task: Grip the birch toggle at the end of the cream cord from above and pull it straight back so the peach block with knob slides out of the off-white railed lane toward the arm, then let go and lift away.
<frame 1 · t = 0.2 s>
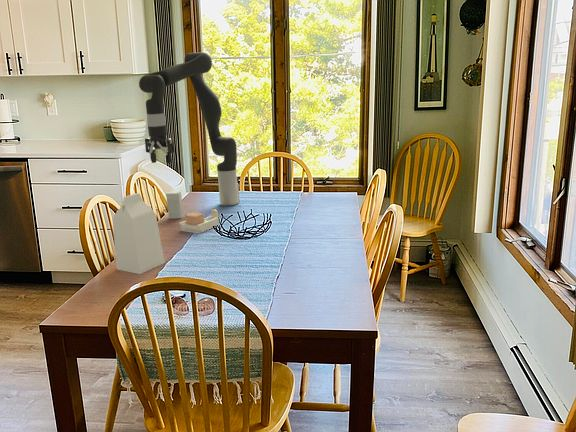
hand: (161, 163, 238), 29 cm above the table, tool pointing down, fingers open, 8 cm apart
milk: (141, 266, 201), on the table
skincare box: (176, 217, 262), on the table
shelf lane: (199, 227, 243), on the table
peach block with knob: (204, 217, 244), point 4 cm above the table, slide at 0.0 cm
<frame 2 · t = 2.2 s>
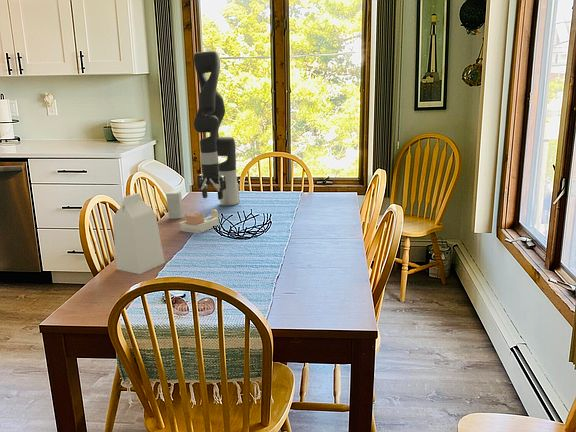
hand: (212, 198, 248), 11 cm above the table, tool pointing down, fingers open, 8 cm apart
nothing on the table moved.
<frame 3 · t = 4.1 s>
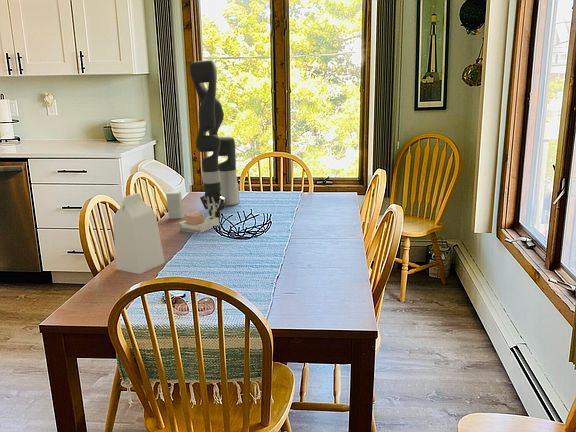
hand: (215, 218, 251), 1 cm above the table, tool pointing down, fingers closed on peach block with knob, 2 cm apart
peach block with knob: (204, 217, 244), point 4 cm above the table, slide at 0.0 cm, touching gripper
everything else where it was.
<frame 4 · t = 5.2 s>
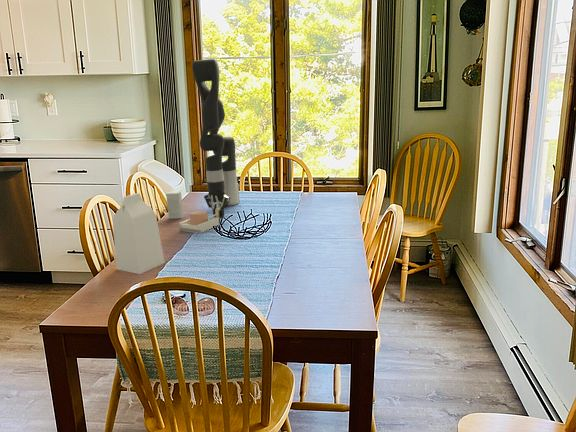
hand: (218, 217, 253), 1 cm above the table, tool pointing down, fingers closed on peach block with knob, 2 cm apart
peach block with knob: (207, 215, 247), point 4 cm above the table, slide at 2.6 cm, touching gripper
everything else where it was.
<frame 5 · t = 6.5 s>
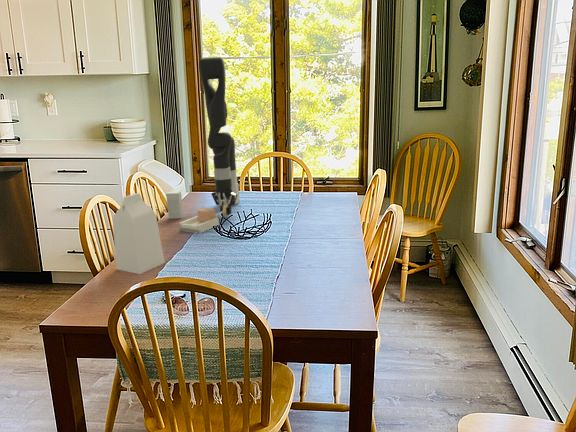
hand: (225, 214, 257), 1 cm above the table, tool pointing down, fingers closed on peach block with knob, 2 cm apart
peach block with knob: (215, 212, 251), point 4 cm above the table, slide at 7.9 cm, touching gripper
everything else where it was.
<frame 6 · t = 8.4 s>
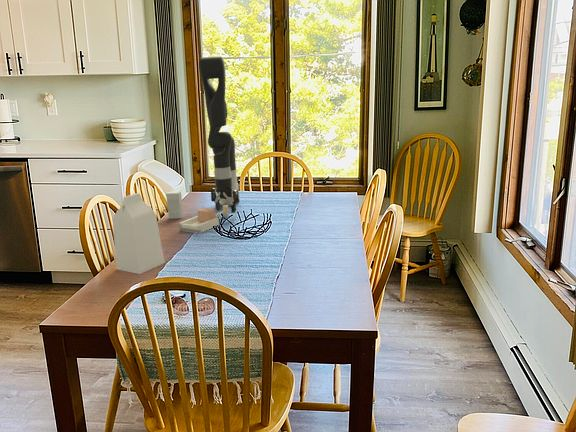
hand: (226, 211, 257), 3 cm above the table, tool pointing down, fingers open, 8 cm apart
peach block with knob: (215, 212, 251), point 4 cm above the table, slide at 7.9 cm
everything else where it was.
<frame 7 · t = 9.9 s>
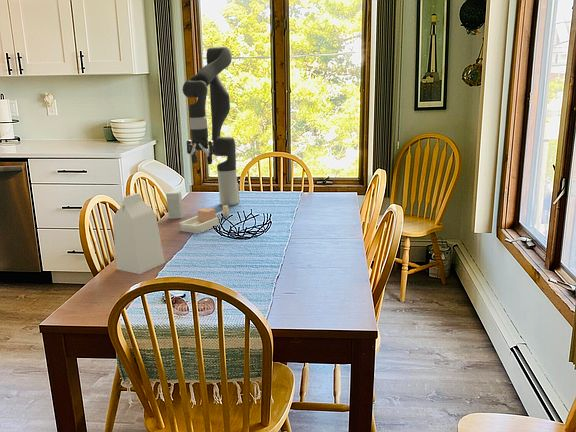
hand: (202, 163, 252), 25 cm above the table, tool pointing down, fingers open, 8 cm apart
nothing on the table moved.
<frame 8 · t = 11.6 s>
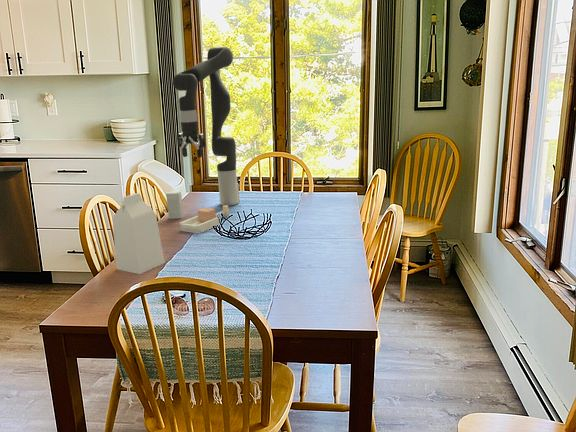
hand: (192, 157, 252), 28 cm above the table, tool pointing down, fingers open, 8 cm apart
nothing on the table moved.
at the end: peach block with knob slide at 7.9 cm; the gripper is holding nothing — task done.
